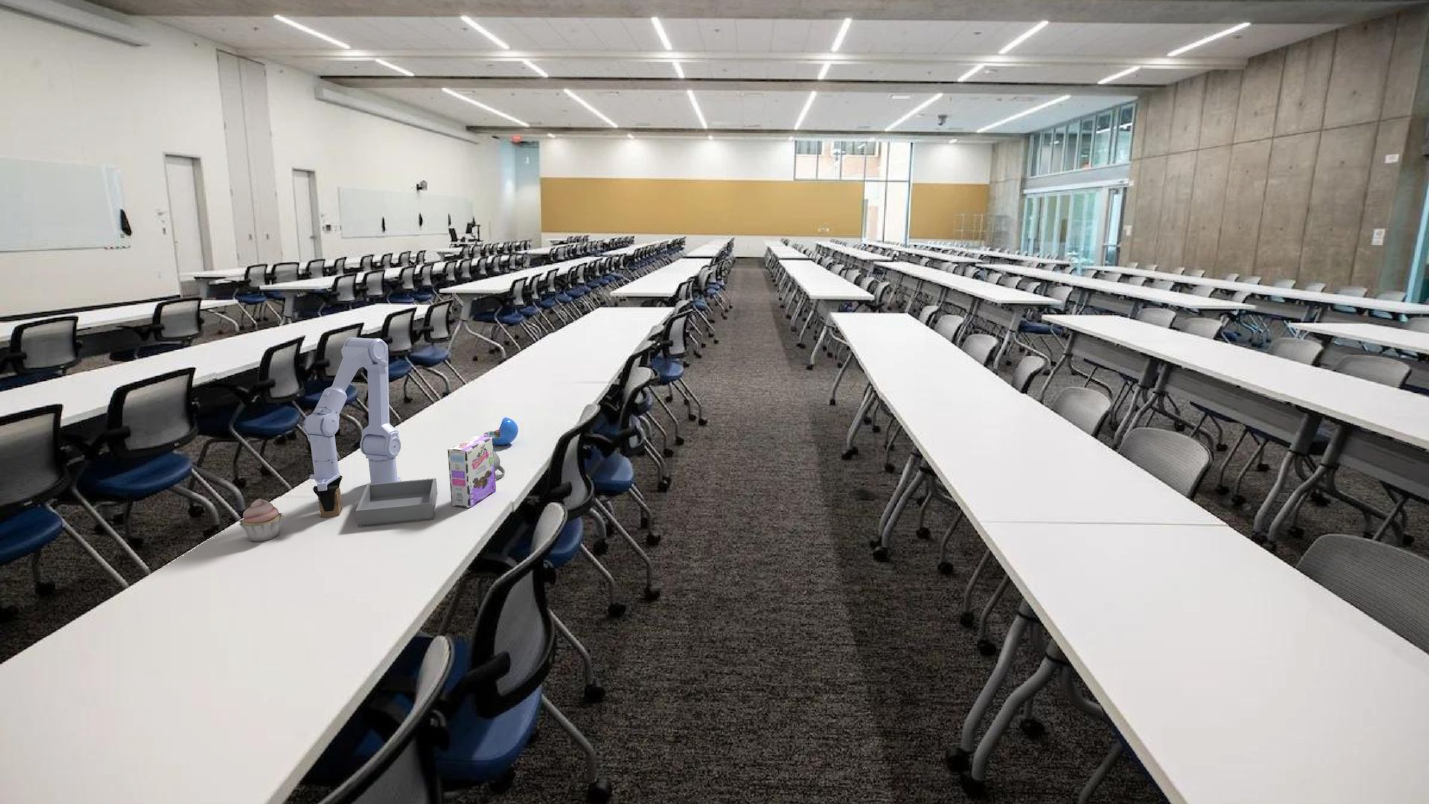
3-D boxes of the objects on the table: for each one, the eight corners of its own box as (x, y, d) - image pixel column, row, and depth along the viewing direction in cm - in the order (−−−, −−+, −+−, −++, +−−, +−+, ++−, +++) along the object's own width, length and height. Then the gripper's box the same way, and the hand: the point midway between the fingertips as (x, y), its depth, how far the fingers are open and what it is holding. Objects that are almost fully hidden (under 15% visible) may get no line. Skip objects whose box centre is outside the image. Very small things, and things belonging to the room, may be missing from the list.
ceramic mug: (464, 479, 224) (463, 455, 222) (479, 470, 232) (477, 446, 230) (497, 482, 222) (495, 458, 220) (510, 473, 229) (509, 450, 227)
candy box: (470, 508, 201) (465, 450, 197) (450, 506, 203) (446, 448, 199) (497, 491, 214) (493, 436, 210) (478, 489, 216) (474, 434, 212)
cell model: (490, 439, 264) (488, 413, 261) (523, 440, 263) (521, 414, 260) (479, 447, 254) (477, 420, 252) (513, 449, 253) (511, 422, 251)
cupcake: (265, 546, 177) (260, 507, 175) (232, 543, 179) (226, 504, 177) (294, 531, 186) (289, 493, 184) (262, 527, 188) (257, 490, 186)
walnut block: (324, 510, 199) (321, 489, 198) (342, 509, 200) (340, 488, 199) (320, 517, 195) (317, 495, 193) (339, 515, 196) (336, 494, 195)
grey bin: (368, 499, 207) (367, 484, 206) (437, 493, 212) (436, 478, 211) (357, 527, 189) (355, 510, 188) (433, 519, 194) (431, 503, 193)
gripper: (313, 451, 199) (319, 499, 203) (301, 468, 186) (308, 519, 189) (342, 449, 201) (348, 496, 205) (332, 466, 188) (338, 516, 191)
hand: (331, 507), depth 197 cm, fingers closed on walnut block, 4 cm apart
